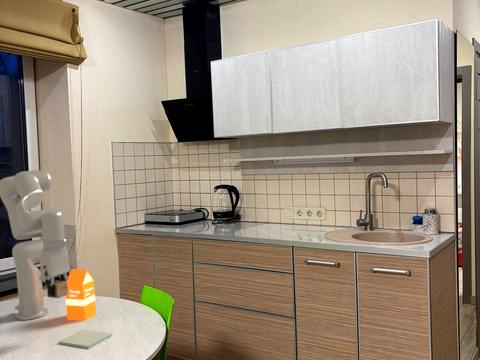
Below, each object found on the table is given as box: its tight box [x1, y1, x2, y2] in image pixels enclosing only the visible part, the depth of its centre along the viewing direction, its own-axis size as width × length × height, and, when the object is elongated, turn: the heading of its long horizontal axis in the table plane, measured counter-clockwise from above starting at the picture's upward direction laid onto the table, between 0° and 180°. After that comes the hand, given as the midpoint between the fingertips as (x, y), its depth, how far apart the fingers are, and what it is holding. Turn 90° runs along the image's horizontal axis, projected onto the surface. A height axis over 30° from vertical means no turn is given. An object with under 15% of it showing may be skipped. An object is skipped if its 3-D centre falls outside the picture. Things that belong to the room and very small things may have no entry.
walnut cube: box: [46, 279, 68, 299], centre depth 180 cm, size 5×5×5 cm
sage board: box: [58, 329, 113, 349], centre depth 176 cm, size 14×12×1 cm
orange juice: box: [64, 268, 97, 322], centre depth 201 cm, size 8×9×20 cm
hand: (57, 292), depth 180 cm, fingers closed on walnut cube, 5 cm apart
